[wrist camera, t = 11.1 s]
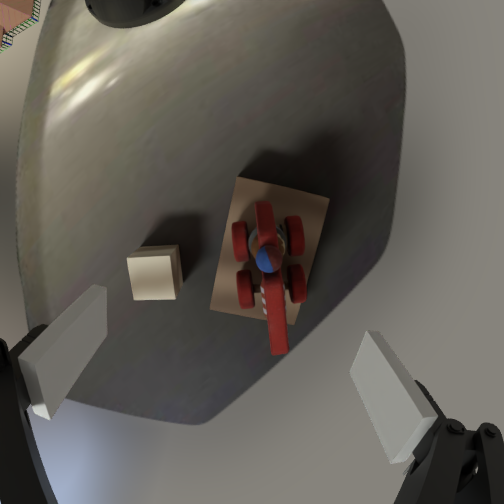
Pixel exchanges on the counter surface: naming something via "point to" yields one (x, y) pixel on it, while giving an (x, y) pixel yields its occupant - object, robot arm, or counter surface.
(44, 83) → the counter surface
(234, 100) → the counter surface
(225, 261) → the plinth
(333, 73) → the counter surface
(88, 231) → the counter surface
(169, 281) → the birch block
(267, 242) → the toy fire truck
